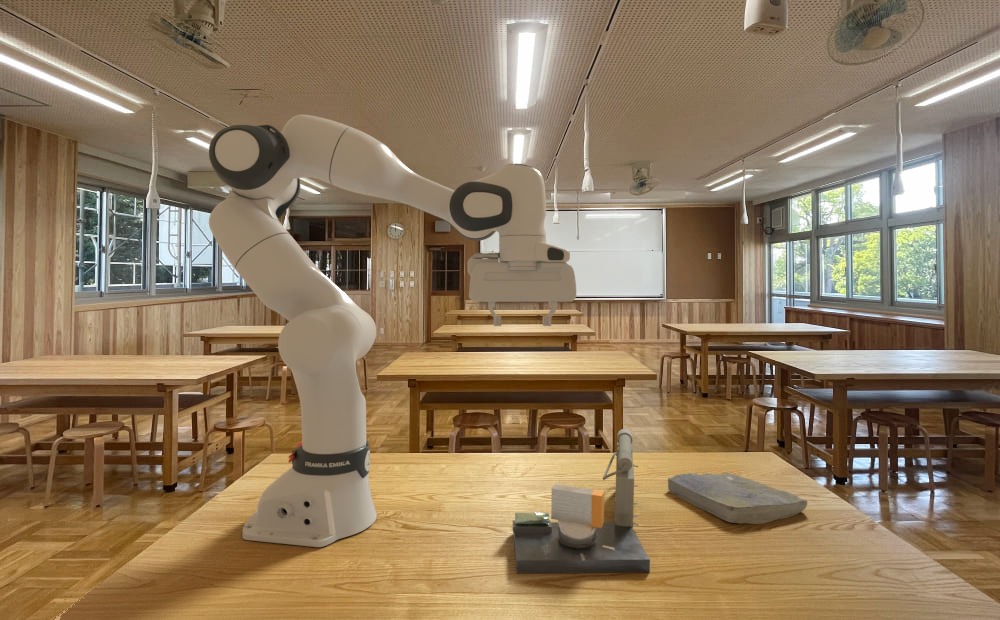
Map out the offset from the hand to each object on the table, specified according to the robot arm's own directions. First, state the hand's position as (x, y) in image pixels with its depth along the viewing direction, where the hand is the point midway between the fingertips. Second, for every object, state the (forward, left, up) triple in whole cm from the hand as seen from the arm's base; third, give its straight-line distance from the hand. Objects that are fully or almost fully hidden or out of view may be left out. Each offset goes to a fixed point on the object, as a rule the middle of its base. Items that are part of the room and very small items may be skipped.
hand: (522, 325), depth 98 cm
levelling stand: (+8, -17, -35) cm, 40 cm away
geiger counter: (+19, 0, -36) cm, 41 cm away
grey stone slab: (+42, +2, -36) cm, 55 cm away
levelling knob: (+8, -17, -33) cm, 38 cm away
